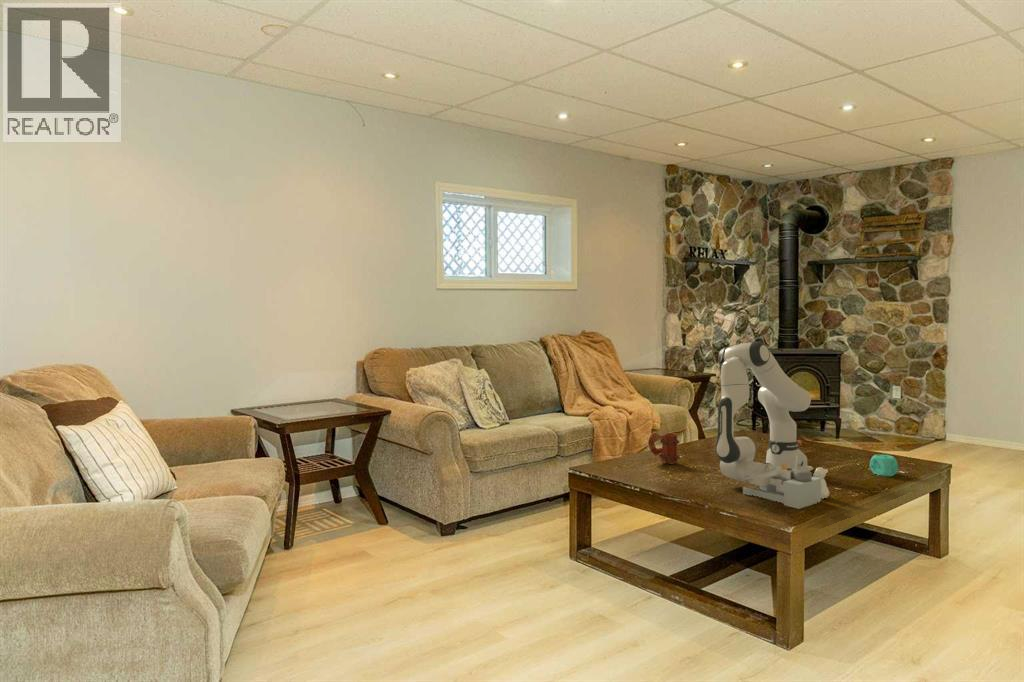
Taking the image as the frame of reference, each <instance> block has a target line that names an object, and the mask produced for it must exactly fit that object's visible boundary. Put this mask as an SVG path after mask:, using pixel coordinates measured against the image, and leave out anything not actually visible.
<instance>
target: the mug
mask: <svg viewBox="0 0 1024 682" xmlns="http://www.w3.org/2000/svg"><path fill="white" fill-rule="evenodd" d="M659 440H660V441H659ZM657 441H659V442H660V443H661V447H660V448H657V447H656V446H655V442H657ZM679 444H680V441H679V439H678V434H677V433H673V432H672V433H670V432H666V433H663V434H660V433H658V432H657V431H654V432H652V433H651V434H650V435H649V436H648V447H649V450H650V452H651V453H652V454H653V455H654V456H658V455H659V458H660V462H661V463H663V464H665V463H669V464H673V463H676V464H677V463H678V460H679V459H680V456H679V454H678V445H679ZM669 464H668V465H669ZM673 465H674V464H673Z"/></svg>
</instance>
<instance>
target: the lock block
mask: <svg viewBox="0 0 1024 682" xmlns="http://www.w3.org/2000/svg"><path fill="white" fill-rule="evenodd" d="M796 470H798V469H794V468H789V467H786V463H784V464H782V467H780V468H776V479H777V480H778V479H780V480H783V485H775V486H776V493H777V494H781V495H784V482H785V481H788V480H792V479H794V471H796Z"/></svg>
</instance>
